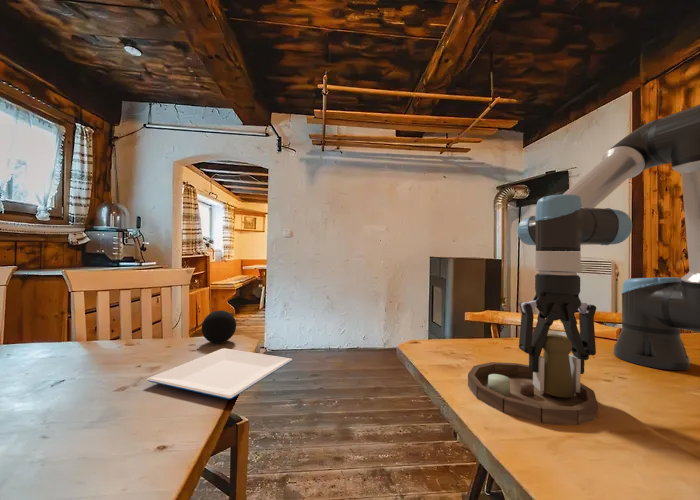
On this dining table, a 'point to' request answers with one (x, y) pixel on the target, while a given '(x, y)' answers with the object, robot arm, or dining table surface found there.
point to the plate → (221, 372)
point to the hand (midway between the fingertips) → (555, 388)
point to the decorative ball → (218, 326)
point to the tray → (531, 396)
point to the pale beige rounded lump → (499, 384)
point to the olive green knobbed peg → (557, 366)
